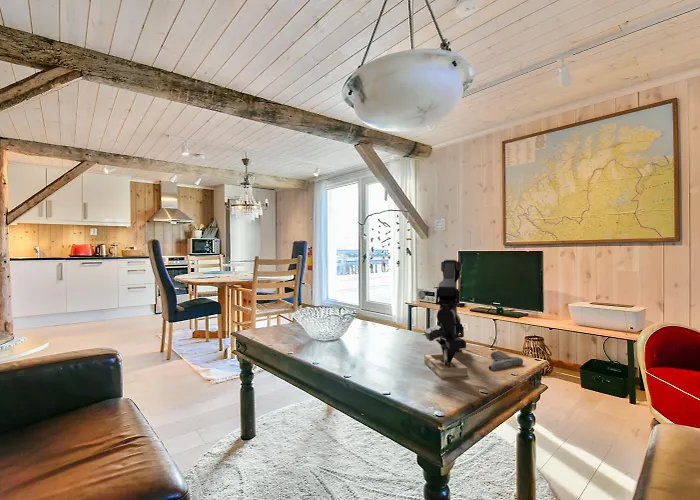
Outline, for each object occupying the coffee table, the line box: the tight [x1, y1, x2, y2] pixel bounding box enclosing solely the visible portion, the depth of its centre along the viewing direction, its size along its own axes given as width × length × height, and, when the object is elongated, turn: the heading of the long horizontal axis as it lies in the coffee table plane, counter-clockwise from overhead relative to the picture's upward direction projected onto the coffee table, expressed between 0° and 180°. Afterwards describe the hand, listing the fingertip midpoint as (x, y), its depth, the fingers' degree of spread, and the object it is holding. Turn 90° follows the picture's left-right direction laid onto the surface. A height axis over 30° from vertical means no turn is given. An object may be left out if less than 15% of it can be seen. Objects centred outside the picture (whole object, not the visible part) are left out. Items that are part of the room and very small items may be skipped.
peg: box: [444, 349, 454, 368], centre depth 133 cm, size 4×4×8 cm
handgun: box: [488, 350, 524, 371], centre depth 142 cm, size 3×16×12 cm
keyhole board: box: [423, 353, 469, 379], centre depth 136 cm, size 17×10×3 cm, turn 8°
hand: (447, 361), depth 133 cm, fingers closed on peg, 2 cm apart
